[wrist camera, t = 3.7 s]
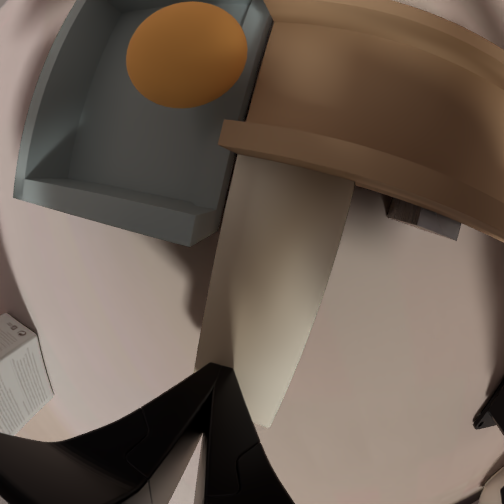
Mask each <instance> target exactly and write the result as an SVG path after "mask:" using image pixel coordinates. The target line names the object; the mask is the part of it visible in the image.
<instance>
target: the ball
mask: <svg viewBox="0 0 504 504" xmlns="http://www.w3.org/2000/svg"><path fill="white" fill-rule="evenodd" d="M246 60H247V40H246V37H245V34H244V32H243V30H242V28H241V26H240V24H239V23H238V22H237V20H236V19H235V18H234V17H233V16H232V15H230V14H229V13H228V12H226V11H225V10H223V9H221V8H219V7H217V6H215V5H212V4H208V3H203V2H193V1H192V2H181V3H176V4H172V5H169V6H167V7H164V8H162V9H160V10H158V11H156V12H155V13H153V14H152V15H150V16H149V17H148V18H146V19H145V20H144V21H143V22H142V23H141V24H140V26H139V27H138V28H137V29H136V31H135V32H134V34H133V36H132V38H131V40H130V42H129V45H128V49H127V54H126V66H127V71H128V75H129V77H130V80H131V82H132V84H133V85H134V86H135V88H136V89H137V90H138V91H139V92H140V93H141V94H142V95H143V96H144V97H145V98H147V99H148V100H150V101H152V102H154V103H156V104H158V105H162V106H165V107H170V108H192V107H197V106H201V105H204V104H207V103H209V102H211V101H213V100H215V99H217V98H219V97H220V96H222V95H223V94H224V93H226V92H227V91H228V90H229V89H230V88H231V87H232V86H233V85H234V84H235V83H236V81H237V80H238V79H239V77H240V75H241V73H242V72H243V69H244V66H245V64H246Z"/></svg>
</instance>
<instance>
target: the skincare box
mask: <svg viewBox="0 0 504 504" xmlns="http://www.w3.org/2000/svg"><path fill="white" fill-rule="evenodd" d="M53 396H54V394H53V391H52V388H51V385H50V382H49V379H48V376H47V373H46V369H45V366H44V362H43V359H42V355H41V351H40V347H39V342H38V337H37V335H36V334H35V333H34V332H32V331H31V330H30V329H28V328H27V327H25V326H24V325H22V324H21V323H20V322H18V321H17V320H15V319H14V318H13V317H12V316H10V315H9V314H8V313H4V314H2V315H0V432H1V433H4V434H8V435H12V436H14V435H15V434H16V433H17V432H18V431H19V430H20V429H21V428H22V427H23V426H24V425H25V424H26V423H27V422H28V421H29V420H30V419H31V418H32V417H33V416H34V415H35V414H36V413H37V412H38V411H39V410H40V409H41V408H42V407H43V406H44V405H46V404H47V403H48V402H49V401H50V400H51V399H52V398H53Z"/></svg>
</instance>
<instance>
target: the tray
mask: <svg viewBox="0 0 504 504" xmlns="http://www.w3.org/2000/svg"><path fill="white" fill-rule="evenodd" d="M192 1H193V2H203V3H208V4H212V5H215V6H217V7H219V8H221V9H223V10H225V11H226V12H228V13H229V14H230V15H232V16H233V17H234V18H235V19H236V20H237V22H238V23H239V24H240V26H241V28H242V30H243V32H244V34H245V37H246V40H247V60H246V64H245V66H244V69H243V72H242V73H241V75H240V77H239V79H238V80H237V81H236V83H235V84H234V85H233V86H232V87H231V88H230V89H229V90H228V91H227V92H226V93H224V94H223V95H222V96H220V97H219V98H217V99H215V100H213V101H211V102H209V103H207V104H204V105H201V106H197V107H192V108H170V107H165V106H162V105H158V104H156V103H154V102H152V101H150V100H148V99H147V98H145V97H144V96H143V95H142V94H141V93H140V92H139V91H138V90H137V89H136V88H135V86H134V85H133V84H132V82H131V80H130V77H129V75H128V71H127V66H126V54H127V49H128V45H129V42H130V40H131V38H132V36H133V34H134V32H135V31H136V29H137V28H138V27H139V26H140V24H141V23H142V22H143V21H144V20H145V19H146V18H148V17H149V16H150V15H152V14H153V13H155V12H156V11H158V10H160V9H162V8H164V7H167V6H169V5H172V4H176V3H181V2H192ZM272 21H273V19H272V17H271V15H270V13H269V11H268V9H267V7H266V5H265V3H264V1H263V0H77V1H76V2H75V4H74V5H73V7H72V9H71V11H70V12H69V14H68V16H67V18H66V19H65V21H64V23H63V25H62V27H61V29H60V31H59V33H58V35H57V37H56V39H55V41H54V43H53V45H52V47H51V49H50V52H49V54H48V56H47V59H46V61H45V63H44V66H43V68H42V71H41V74H40V76H39V79H38V82H37V85H36V88H35V91H34V94H33V97H32V100H31V103H30V107H29V110H28V114H27V118H26V122H25V126H24V130H23V134H22V139H21V144H20V149H19V155H18V161H17V167H16V175H15V183H14V193H13V198H16V199H19V200H23V201H26V202H29V203H33V204H36V205H40V206H43V207H47V208H50V209H54V210H57V211H61V212H64V213H68V214H71V215H75V216H78V217H82V218H85V219H89V220H92V221H96V222H100V223H103V224H107V225H110V226H114V227H118V228H121V229H125V230H128V231H132V232H136V233H139V234H143V235H147V236H150V237H154V238H158V239H161V240H165V241H169V242H173V243H176V244H180V245H184V246H187V247H191V246H192V245H194V244H196V243H197V242H199V241H201V240H203V239H204V238H206V237H208V236H210V235H211V234H213V233H215V232H217V231H218V229H219V224H220V220H221V215H222V211H223V206H224V202H225V197H226V193H227V188H228V184H229V180H230V175H231V171H232V167H233V163H234V159H235V154H236V153H234V152H232V151H230V150H228V149H225V148H223V147H221V146H219V145H218V141H219V137H220V133H221V129H222V126H223V122H224V119H225V120H235V121H243V122H244V119H245V115H246V111H247V107H248V103H249V100H250V96H251V92H252V89H253V85H254V82H255V78H256V74H257V71H258V67H259V64H260V60H261V57H262V54H263V50H264V47H265V43H266V40H267V37H268V34H269V30H270V27H271V24H272Z"/></svg>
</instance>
